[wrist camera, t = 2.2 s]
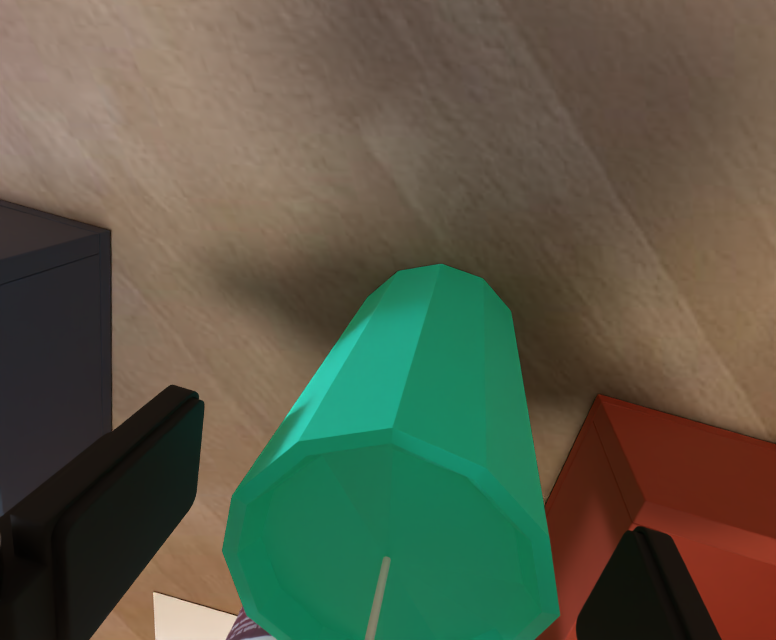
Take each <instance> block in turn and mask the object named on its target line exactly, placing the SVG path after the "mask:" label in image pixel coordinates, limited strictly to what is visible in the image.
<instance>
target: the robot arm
mask: <svg viewBox="0 0 776 640" xmlns="http://www.w3.org/2000/svg"><path fill="white" fill-rule="evenodd" d="M203 418H204V402H203V401H202V400H199V395H198V393H197V392H195V391H192V390H189V389H185V388H182V387H179V386H175V385H170V386H168V387H167V388H166V389H164V390H163V391H162V392H161V393H159V394H158V395H157V396H156V397H154V398H153V399H152V400H151V401H150V402H148V403H147V404H146V405H145V406H143V407H142V408H141V409H140V410H138V411H137V412H136V413H135V414H133V415H132V416H131V417H130V418H129V419H127V420H126V421H125V422H124V423H122V424H121V425H120V426H119V427H117V428H116V429H115V430H114V431H112V432H109V433H106V434H105V435H103V436H102V437H100V438H99V439H98V440H96V441H95V442H94V443H93V444H91V445H90V446H89V447H88V448H86V449H85V450H84V451H83V452H81V453H80V454H79V455H78V456H76V457H75V458H74V459H73V460H71V461H70V462H69V463H68V464H66V465H65V466H64V467H63V468H61V469H60V470H59V471H58V472H56V473H55V474H54V475H53V476H51V477H50V478H49V479H48V480H46V481H45V482H44V483H43V484H41V485H40V486H39V487H38V488H36V489H35V490H34V491H32V492H31V493H30V494H29V495H27V496H26V497H25V498H24V499H22V500H21V501H20V502H19V503H17V504H16V505H15V506H14V507H12V508H11V509H10V510H9V511H7V512H6V513H5V514H4V515H2V516H1V517H0V640H89V639H90V638H91V637H92V635H93V634H94V633H95V632H96V630H97V629H98V628H99V626H100V625H101V624H102V623H103V621H104V620H105V619H106V617H107V616H108V615H109V613H110V612H111V611H112V610H113V608H114V607H115V606H116V604H117V603H118V602H119V600H120V599H121V598H122V597H123V595H124V594H125V593H126V591H127V590H128V589H129V587H130V586H131V585H132V584H133V582H134V581H135V580H136V578H137V577H138V576H139V575H140V573H141V572H142V571H143V569H144V568H145V567H146V565H147V564H148V563H149V562H150V560H151V559H152V558H153V556H154V555H155V554H156V552H157V551H158V550H159V549H160V547H161V546H162V545H163V543H164V542H165V541H166V539H167V538H168V537H169V536H170V534H171V533H172V532H173V530H174V529H175V528H176V527H177V525H178V524H179V523H180V521H181V520H182V519H183V517H184V516H185V515H186V514H187V512H188V511H189V509H190V508H191V506H192V504H193V502H194V500H195V497H196V492H197V482H198V471H199V461H200V450H201V439H202V429H203ZM576 636H577V640H722V639H721V637H720V635H719V633H718V631H717V629H716V627H715V625H714V623H713V621H712V618H711V616H710V614H709V612H708V610H707V608H706V606H705V604H704V602H703V600H702V598H701V596H700V594H699V592H698V590H697V588H696V586H695V583H694V581H693V579H692V577H691V575H690V573H689V571H688V569H687V567H686V565H685V563H684V561H683V559H682V557H681V555H680V553H679V551H678V548H677V546H676V544H675V542H674V540H673V539H672V537H671V536H670V535H668V534H666V533H663V532H659V531H656V530H653V529H649V528H646V527H643V526H637V527H636V528H635V529H634V530H633V531H631V530H627V531H626V532H625V533H624V534H623V536H622V538H621V539H620V541H619V543H618V545H617V547H616V548H615V550H614V552H613V554H612V555H611V557H610V559H609V561H608V563H607V564H606V566H605V568H604V570H603V571H602V573H601V575H600V577H599V579H598V580H597V582H596V584H595V586H594V588H593V589H592V591H591V593H590V595H589V596H588V598H587V600H586V602H585V604H584V605H583V607H582V609H581V611H580V613H579V615H578V617H577V621H576Z"/></svg>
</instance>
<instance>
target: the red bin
mask: <svg viewBox="0 0 776 640" xmlns="http://www.w3.org/2000/svg"><path fill="white" fill-rule="evenodd" d="M545 514H546V520H547V526H548V532H549V538H550V545H551V552H552V559H553V567H554V574H555V581H556V588H557V595H558V602H559V610H560V616H559V617H558V618H557V619H556V620H555V621H554V622H553V623H552V624H551V625H550V626H549V627H548V628H547V629H545V630H544V631H543V632H542V633H541V634H540V635H539V636H538V637H537V638H536V639H535V640H577V636H576V621H577V617H578V615H579V613H580V611H581V609H582V607H583V605H584V604H585V602H586V600H587V598H588V596H589V595H590V593H591V591H592V589H593V588H594V586H595V584H596V582H597V580H598V579H599V577H600V575H601V573H602V571H603V570H604V568H605V566H606V564H607V563H608V561H609V559H610V557H611V555H612V554H613V552H614V550H615V548H616V547H617V545H618V543H619V541H620V539H621V538H622V536H623V534H624V533H625V532H626V531H627V530H631V531H633V530H634V529H635V528H636V527H637V526H643V527H646V528H649V529H653V530H656V531H659V532H663V533H666V534H668V535H670V536H671V537H672V539H673V540H674V542H675V544H676V546H677V548H678V551H679V553H680V555H681V557H682V559H683V561H684V563H685V565H686V567H687V569H688V571H689V573H690V575H691V577H692V579H693V581H694V583H695V586H696V588H697V590H698V592H699V594H700V596H701V598H702V600H703V602H704V604H705V606H706V608H707V610H708V612H709V614H710V616H711V618H712V621H713V623H714V625H715V627H716V629H717V631H718V633H719V635H720V637H721V639H722V640H776V444H773V443H769V442H766V441H762V440H759V439H755V438H752V437H748V436H745V435H741V434H737V433H734V432H730V431H727V430H723V429H720V428H716V427H713V426H709V425H706V424H702V423H699V422H695V421H692V420H688V419H685V418H681V417H678V416H674V415H671V414H667V413H664V412H660V411H657V410H653V409H650V408H646V407H643V406H639V405H635V404H632V403H628V402H625V401H621V400H618V399H614V398H611V397H607V396H604V395H600V394H598V395H597V397H596V399H595V401H594V403H593V405H592V407H591V410H590V412H589V414H588V416H587V418H586V420H585V422H584V425H583V427H582V429H581V431H580V433H579V435H578V437H577V439H576V442H575V444H574V446H573V448H572V450H571V452H570V454H569V457H568V459H567V461H566V463H565V465H564V467H563V469H562V471H561V474H560V476H559V478H558V480H557V482H556V484H555V486H554V488H553V491H552V493H551V495H550V497H549V499H548V501H547V503H546V506H545Z"/></svg>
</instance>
